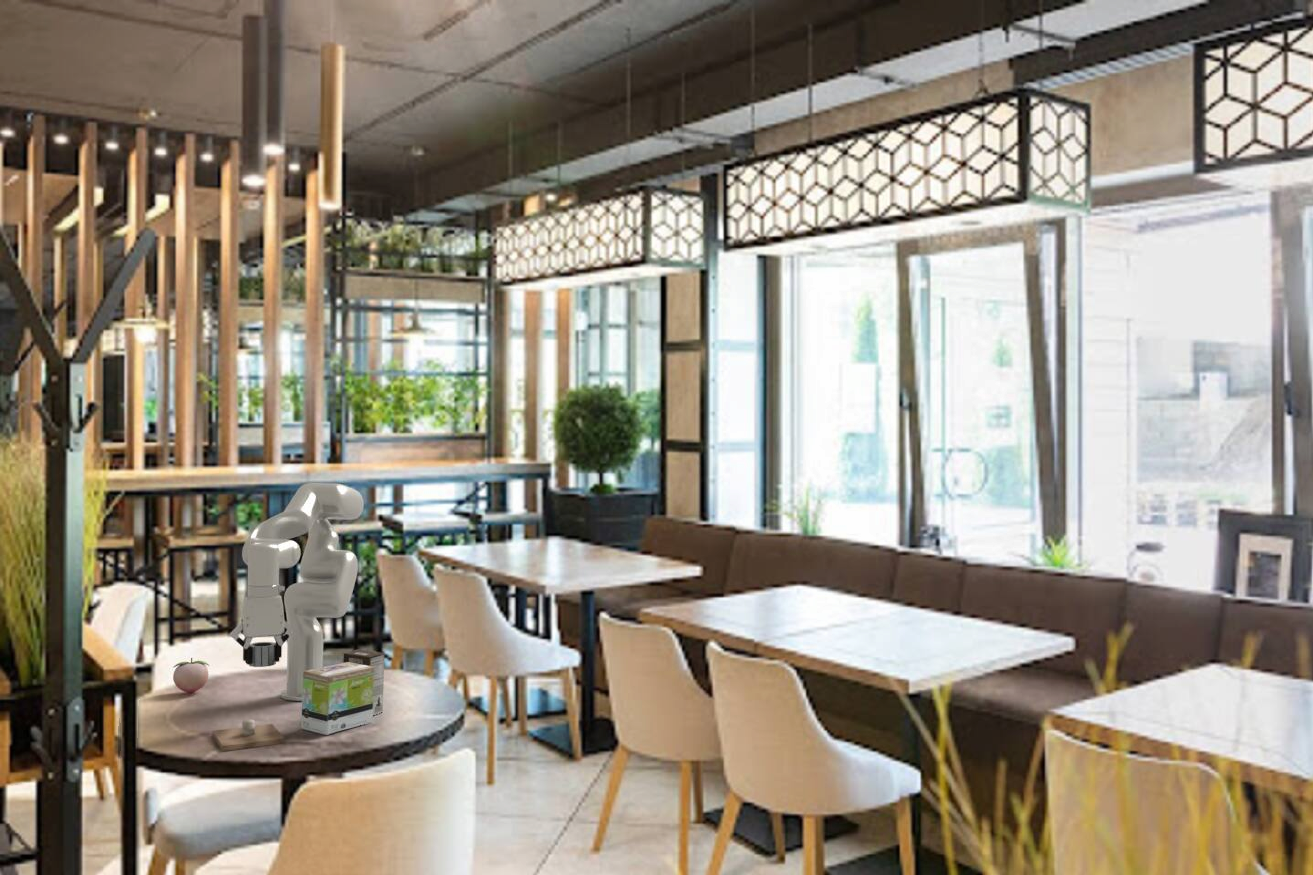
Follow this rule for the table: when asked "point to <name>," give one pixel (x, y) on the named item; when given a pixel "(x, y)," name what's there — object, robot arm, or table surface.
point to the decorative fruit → (190, 675)
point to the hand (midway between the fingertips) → (262, 661)
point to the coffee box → (378, 663)
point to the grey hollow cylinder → (263, 654)
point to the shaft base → (248, 736)
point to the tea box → (337, 697)
